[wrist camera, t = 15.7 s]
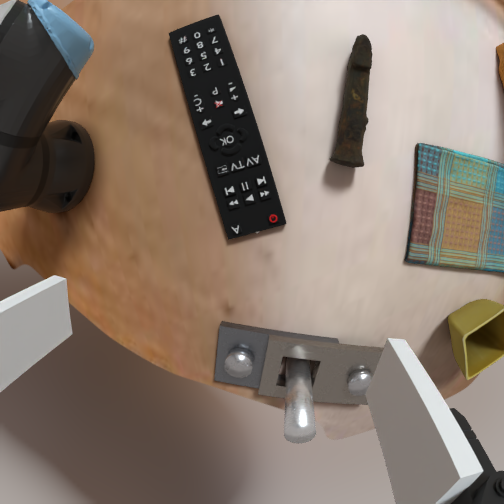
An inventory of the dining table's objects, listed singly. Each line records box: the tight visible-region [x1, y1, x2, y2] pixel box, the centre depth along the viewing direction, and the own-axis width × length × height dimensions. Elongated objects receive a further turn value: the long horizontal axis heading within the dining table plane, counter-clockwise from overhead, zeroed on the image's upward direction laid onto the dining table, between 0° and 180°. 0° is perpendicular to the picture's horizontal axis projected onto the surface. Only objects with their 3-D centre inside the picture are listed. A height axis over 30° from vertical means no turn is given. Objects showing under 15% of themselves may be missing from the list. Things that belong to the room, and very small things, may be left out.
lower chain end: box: [214, 321, 339, 388], centre depth 41 cm, size 17×10×4 cm, turn 82°
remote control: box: [169, 15, 286, 240], centre depth 35 cm, size 8×32×2 cm, turn 17°
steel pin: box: [284, 357, 316, 443], centre depth 35 cm, size 4×4×15 cm
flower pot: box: [448, 299, 504, 380], centre depth 34 cm, size 9×9×9 cm
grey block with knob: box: [258, 335, 384, 405], centre depth 40 cm, size 18×10×4 cm, turn 82°
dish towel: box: [405, 143, 504, 272], centre depth 33 cm, size 17×23×2 cm
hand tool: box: [330, 35, 372, 167], centre depth 31 cm, size 19×4×5 cm, turn 168°
